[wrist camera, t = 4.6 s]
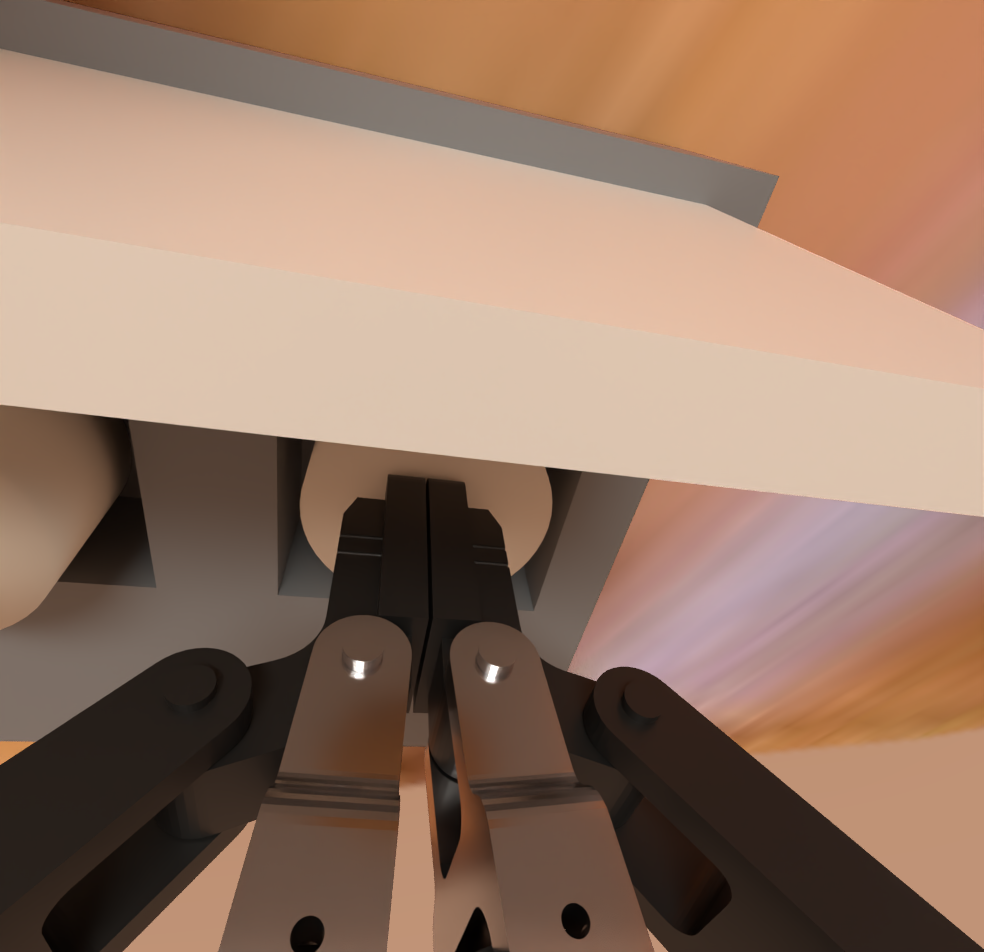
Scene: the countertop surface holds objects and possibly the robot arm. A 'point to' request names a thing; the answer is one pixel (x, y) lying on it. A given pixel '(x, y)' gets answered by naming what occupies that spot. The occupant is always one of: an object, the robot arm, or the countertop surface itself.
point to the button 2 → (364, 470)
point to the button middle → (52, 496)
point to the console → (404, 335)
